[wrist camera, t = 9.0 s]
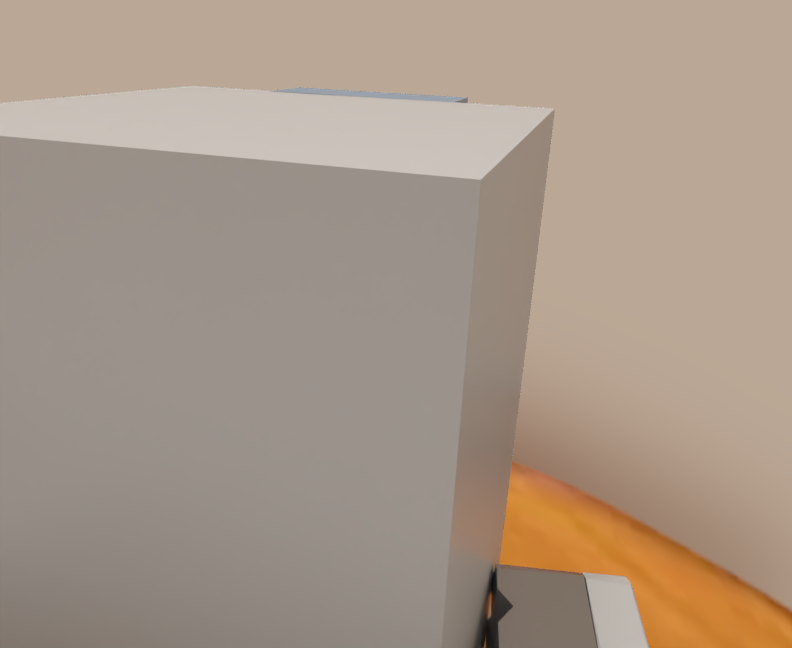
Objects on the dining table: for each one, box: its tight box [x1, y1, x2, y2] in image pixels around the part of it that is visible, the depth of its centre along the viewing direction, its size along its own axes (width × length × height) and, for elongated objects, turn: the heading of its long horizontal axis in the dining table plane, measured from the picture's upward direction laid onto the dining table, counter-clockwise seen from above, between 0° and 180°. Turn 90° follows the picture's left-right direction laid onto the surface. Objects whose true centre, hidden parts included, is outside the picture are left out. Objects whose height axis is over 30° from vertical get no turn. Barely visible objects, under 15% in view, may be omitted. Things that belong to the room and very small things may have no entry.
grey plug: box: [0, 86, 555, 648], centre depth 8 cm, size 4×5×11 cm
